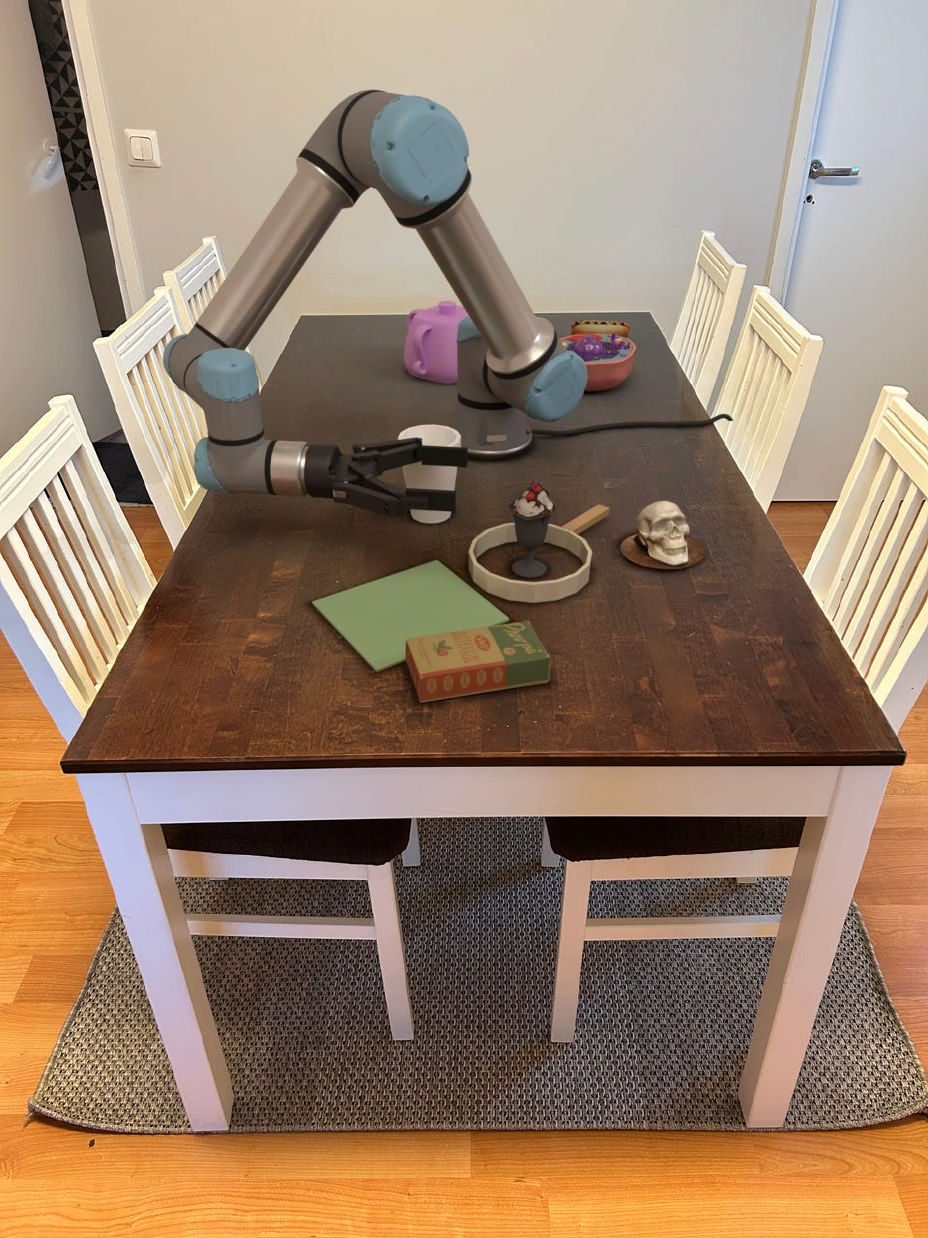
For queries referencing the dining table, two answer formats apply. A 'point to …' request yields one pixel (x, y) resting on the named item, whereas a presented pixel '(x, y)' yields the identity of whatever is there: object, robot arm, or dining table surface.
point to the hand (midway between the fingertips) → (462, 478)
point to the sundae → (531, 527)
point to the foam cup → (431, 467)
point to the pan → (555, 536)
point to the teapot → (433, 342)
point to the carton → (476, 661)
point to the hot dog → (600, 327)
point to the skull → (662, 539)
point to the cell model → (603, 358)
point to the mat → (405, 611)
